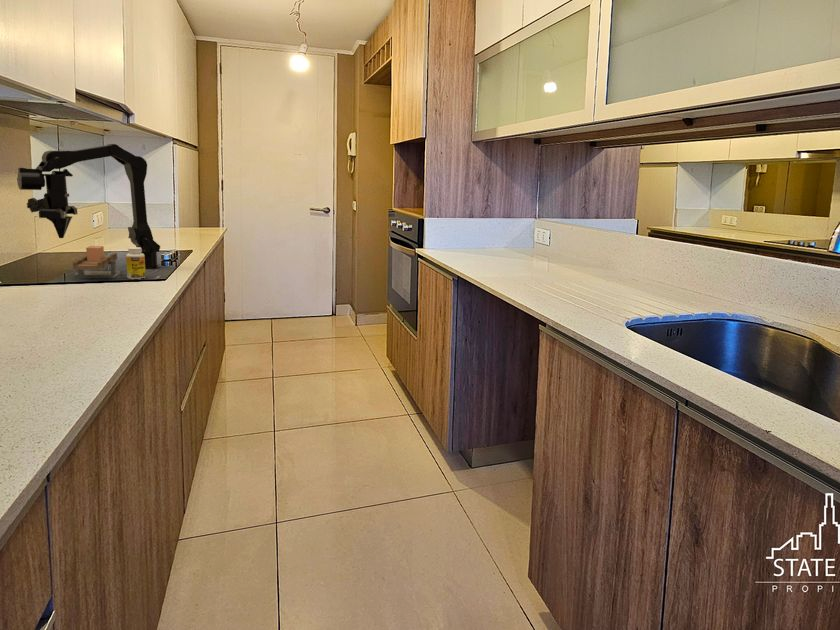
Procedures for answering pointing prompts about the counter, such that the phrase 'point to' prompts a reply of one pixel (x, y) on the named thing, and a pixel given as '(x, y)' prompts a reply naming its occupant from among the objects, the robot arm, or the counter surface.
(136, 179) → the robot arm
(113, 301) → the counter surface
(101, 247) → the rider block
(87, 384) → the counter surface
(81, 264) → the brown tray
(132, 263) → the supplement bottle
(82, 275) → the pivot stand
